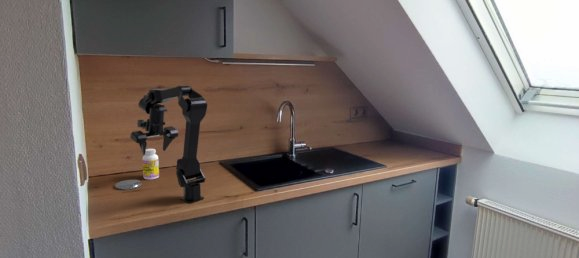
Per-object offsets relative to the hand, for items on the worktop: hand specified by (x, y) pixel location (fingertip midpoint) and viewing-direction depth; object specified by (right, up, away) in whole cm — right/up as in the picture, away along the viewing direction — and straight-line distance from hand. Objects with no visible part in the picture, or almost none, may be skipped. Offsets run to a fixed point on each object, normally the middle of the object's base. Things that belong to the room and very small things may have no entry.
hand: (153, 152), depth 157 cm
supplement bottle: (-4, -12, +9) cm, 16 cm away
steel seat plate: (-10, -14, -2) cm, 17 cm away
